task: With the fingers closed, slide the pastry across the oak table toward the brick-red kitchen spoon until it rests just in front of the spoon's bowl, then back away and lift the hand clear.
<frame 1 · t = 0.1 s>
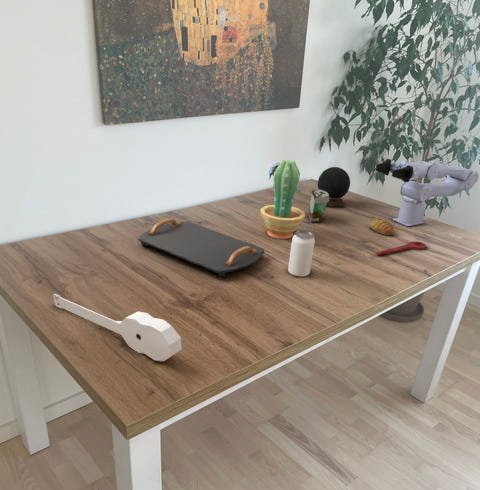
hand: (384, 170, 168), 22 cm above the table, tool horizontal, fingers open, 7 cm apart
food container: (317, 219, 184), on the table
black ball on stand: (330, 203, 202), on the table
can: (298, 272, 142), on the table
spoon: (416, 246, 166), on the table
serving tray: (200, 252, 149), on the table
pastry: (381, 231, 178), on the table
white toy guitar: (114, 332, 109), on the table
potted cactus: (280, 234, 168), on the table
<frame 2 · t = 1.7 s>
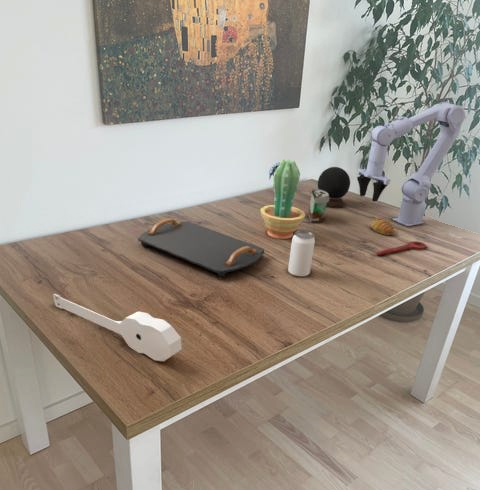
hand: (368, 198, 180), 9 cm above the table, tool pointing down, fingers open, 6 cm apart
nothing on the table moved.
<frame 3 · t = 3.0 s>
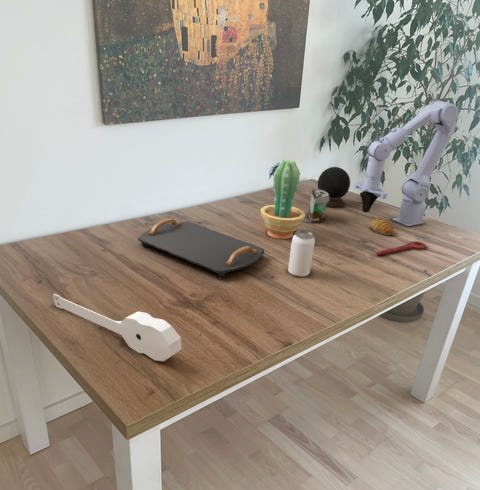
hand: (365, 211, 182), 4 cm above the table, tool pointing down, fingers closed
nothing on the table moved.
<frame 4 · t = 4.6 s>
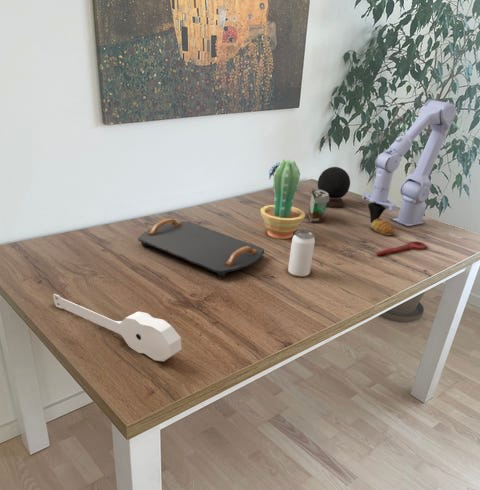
hand: (373, 223, 180), 1 cm above the table, tool pointing down, fingers closed
pastry: (382, 231, 177), on the table, touching gripper
everything else where it was.
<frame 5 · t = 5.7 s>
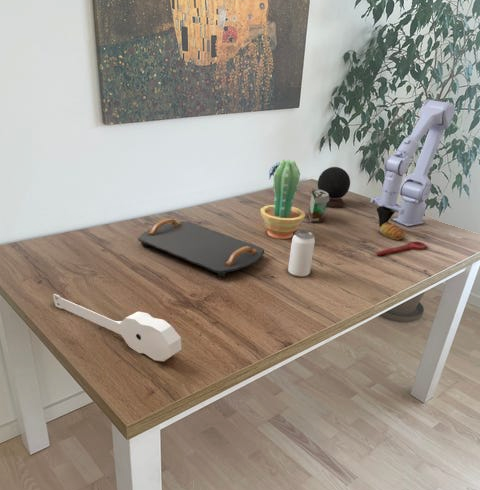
hand: (382, 227, 177), 1 cm above the table, tool pointing down, fingers closed
pastry: (391, 235, 174), on the table, touching gripper
everything else where it was.
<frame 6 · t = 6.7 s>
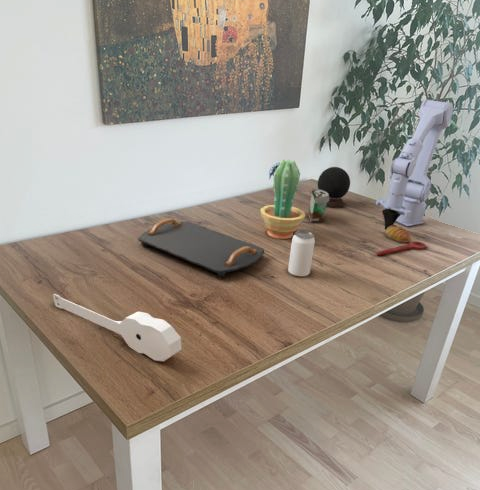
hand: (387, 229, 175), 1 cm above the table, tool pointing down, fingers closed
pastry: (396, 238, 172), on the table, touching gripper
everything else where it was.
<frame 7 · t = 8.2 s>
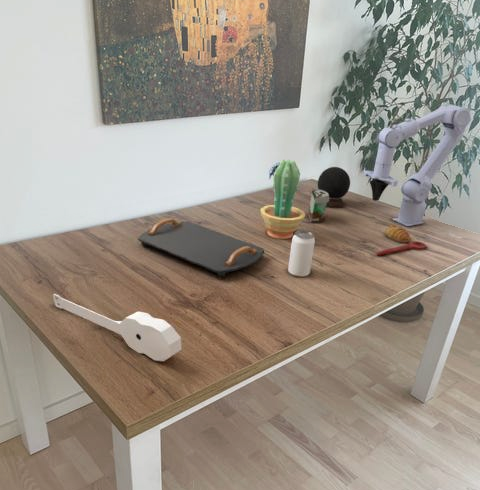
hand: (375, 200, 180), 9 cm above the table, tool pointing down, fingers closed
pastry: (396, 238, 172), on the table
everything else where it was.
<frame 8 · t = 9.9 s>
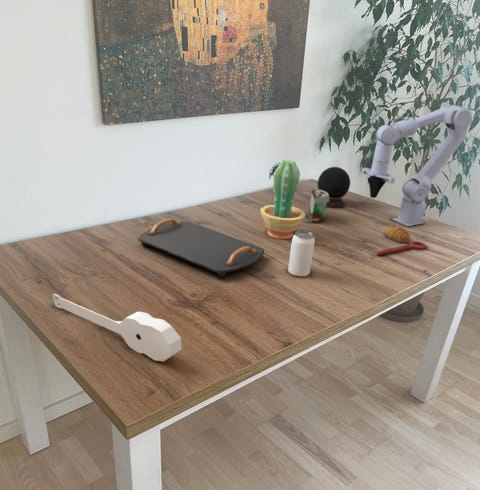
hand: (373, 197, 182), 9 cm above the table, tool pointing down, fingers closed
nothing on the table moved.
at the end: pastry 8.6 cm from the spoon (horizontally); pastry moved 7.4 cm from its start; pastry inside the target area (1.1 cm from its centre), on the table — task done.
